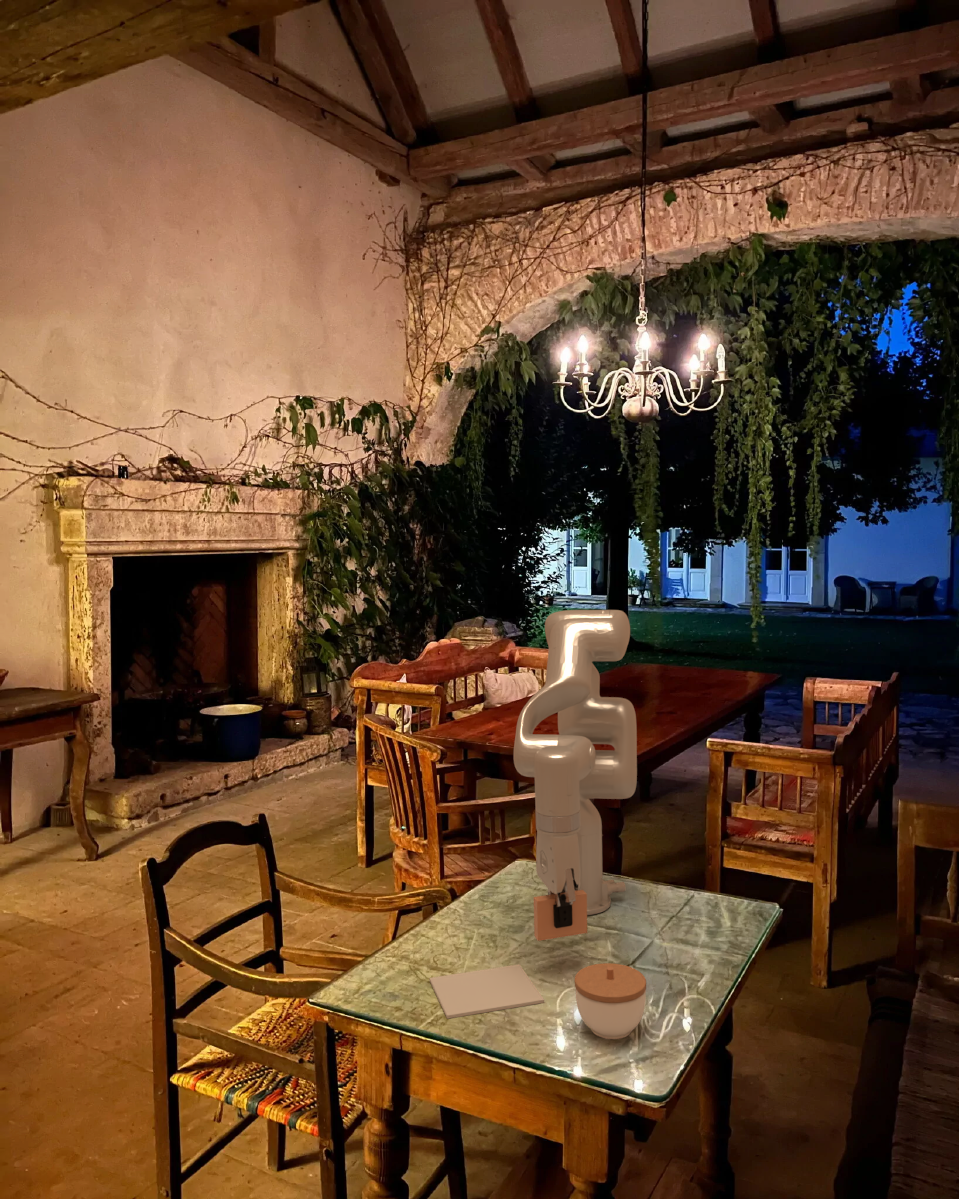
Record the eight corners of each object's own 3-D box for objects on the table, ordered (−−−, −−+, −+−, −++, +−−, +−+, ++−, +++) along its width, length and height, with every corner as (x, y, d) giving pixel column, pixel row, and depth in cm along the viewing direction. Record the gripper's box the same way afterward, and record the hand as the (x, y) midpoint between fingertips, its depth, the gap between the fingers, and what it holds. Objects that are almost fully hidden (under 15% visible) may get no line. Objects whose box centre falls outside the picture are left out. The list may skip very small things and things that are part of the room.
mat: (519, 967, 160) (519, 964, 160) (544, 1002, 147) (544, 999, 147) (429, 980, 155) (429, 977, 155) (447, 1018, 143) (447, 1015, 143)
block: (583, 928, 160) (582, 889, 159) (587, 932, 158) (586, 893, 157) (534, 936, 157) (533, 896, 157) (537, 940, 156) (537, 901, 155)
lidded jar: (562, 1034, 138) (561, 974, 137) (595, 1004, 146) (594, 946, 146) (628, 1056, 131) (627, 992, 131) (658, 1022, 140) (657, 963, 140)
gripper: (522, 808, 162) (525, 907, 164) (552, 839, 147) (556, 948, 149) (562, 802, 164) (565, 901, 166) (596, 832, 149) (599, 940, 151)
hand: (560, 922), depth 158 cm, fingers closed on block, 1 cm apart
